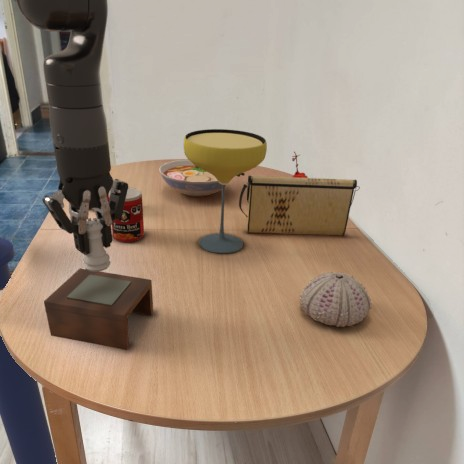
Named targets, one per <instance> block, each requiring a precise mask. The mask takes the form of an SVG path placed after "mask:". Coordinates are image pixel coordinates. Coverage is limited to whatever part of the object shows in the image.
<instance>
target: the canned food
mask: <svg viewBox="0 0 464 464" xmlns="http://www.w3.org/2000/svg"><path fill="white" fill-rule="evenodd" d="M110 193H111V191H110V192H109V198H110ZM143 207H144V206H143V194H142V191H141V190H140V189H138V188H134V187H128V191H127V195H126V199H125V203H124V207H123V211H122V215H121V218H120V219H115V220H114V221H113V222H112V224H111V231H112V237H113V239H115V240H116V241H117V242H122V243H133V242H137V241H139V240H141V239H142V238H143V237H144V235H145V234H144V233H145V225H144V223H145V222H144V208H143Z"/></svg>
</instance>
